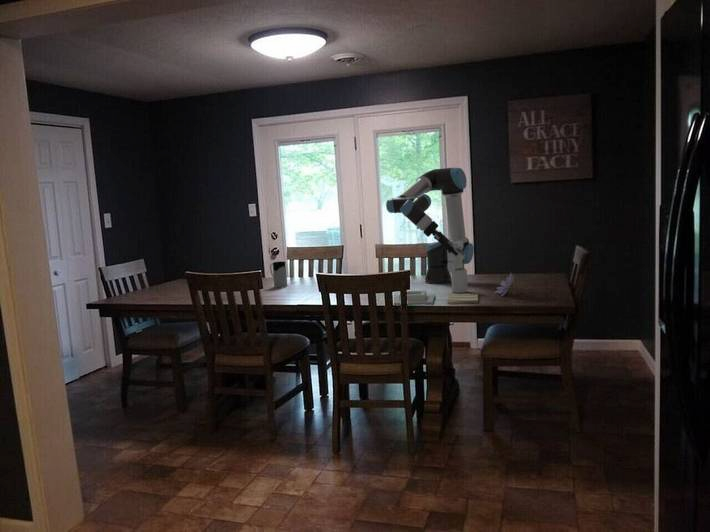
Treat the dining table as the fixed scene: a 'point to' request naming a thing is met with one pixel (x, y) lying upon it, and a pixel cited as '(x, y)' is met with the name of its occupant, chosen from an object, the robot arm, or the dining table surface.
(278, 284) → the glass holder
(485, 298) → the dining table surface
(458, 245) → the syrup box
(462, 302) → the ash board
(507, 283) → the water lily
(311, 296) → the dining table surface
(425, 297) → the collar holder
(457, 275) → the pill bottle
